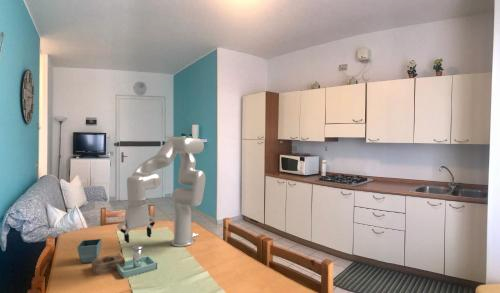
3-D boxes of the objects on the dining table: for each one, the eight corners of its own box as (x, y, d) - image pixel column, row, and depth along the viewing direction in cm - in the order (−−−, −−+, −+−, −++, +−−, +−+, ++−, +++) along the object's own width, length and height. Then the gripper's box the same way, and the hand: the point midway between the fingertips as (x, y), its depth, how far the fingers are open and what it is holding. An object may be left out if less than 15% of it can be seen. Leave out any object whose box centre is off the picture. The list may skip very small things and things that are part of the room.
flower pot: (77, 265, 136) (76, 246, 135) (82, 257, 144) (82, 240, 144) (97, 263, 138) (97, 245, 138) (102, 256, 146) (101, 238, 146)
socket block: (119, 261, 141) (119, 253, 140) (124, 268, 134) (124, 259, 133) (91, 268, 133) (91, 259, 133) (96, 275, 126) (95, 266, 126)
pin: (140, 264, 136) (140, 244, 136) (144, 268, 132) (143, 247, 132) (130, 267, 133) (130, 246, 133) (133, 271, 129) (133, 249, 129)
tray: (148, 260, 142) (148, 255, 142) (157, 268, 133) (157, 263, 133) (116, 269, 132) (116, 263, 132) (123, 278, 124) (123, 272, 124)
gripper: (152, 197, 140) (153, 232, 141) (114, 204, 129) (116, 241, 131) (158, 201, 134) (159, 236, 136) (118, 208, 123) (120, 247, 125)
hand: (138, 239), depth 133 cm, fingers open, 9 cm apart
